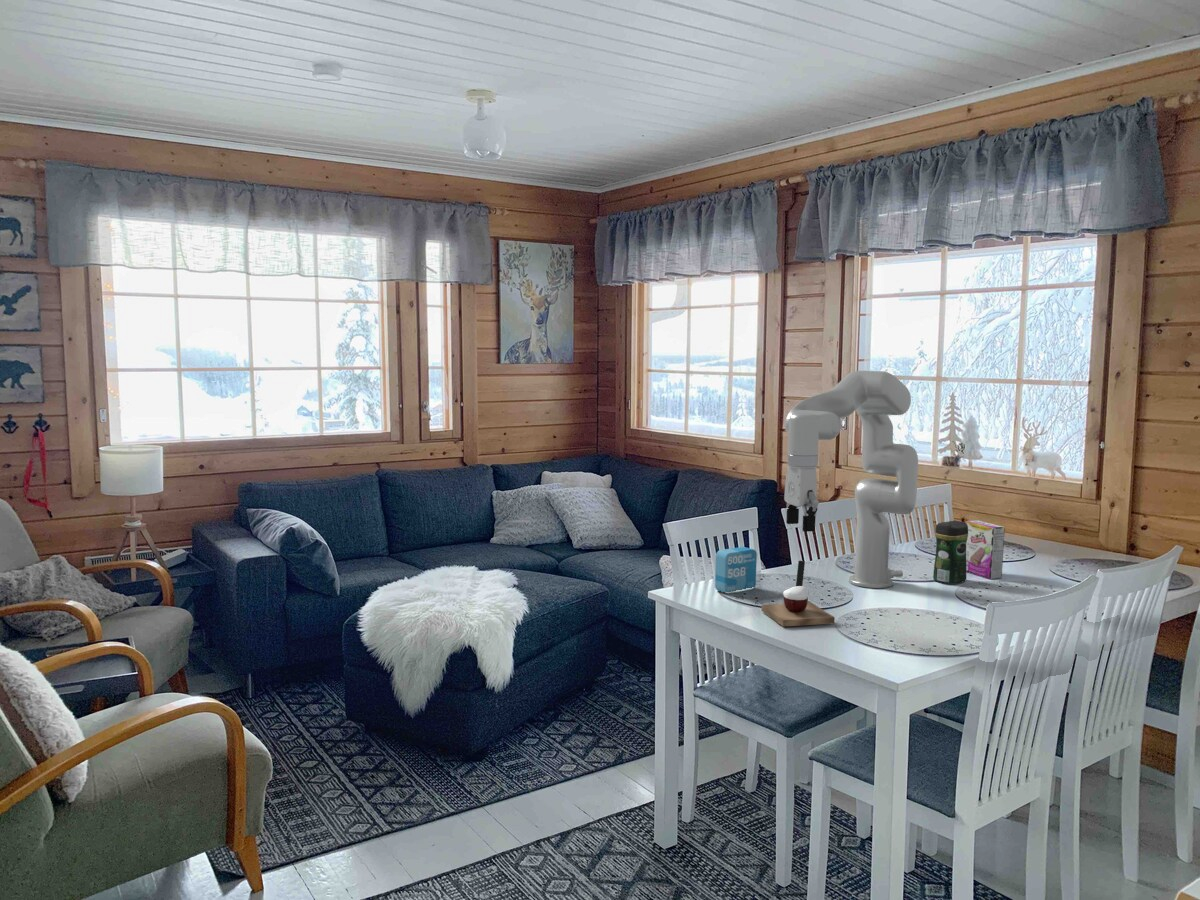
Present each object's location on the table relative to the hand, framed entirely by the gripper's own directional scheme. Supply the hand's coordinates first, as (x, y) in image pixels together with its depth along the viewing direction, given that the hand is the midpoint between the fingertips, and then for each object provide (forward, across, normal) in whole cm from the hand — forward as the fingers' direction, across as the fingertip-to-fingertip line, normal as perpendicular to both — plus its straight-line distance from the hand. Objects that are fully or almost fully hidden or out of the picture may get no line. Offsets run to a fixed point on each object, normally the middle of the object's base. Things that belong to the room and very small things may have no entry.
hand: (800, 527), depth 232 cm
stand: (+24, 0, 0) cm, 24 cm away
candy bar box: (+25, -32, +77) cm, 87 cm away
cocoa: (+22, -1, 0) cm, 22 cm away
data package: (+24, -29, -6) cm, 38 cm away
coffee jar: (+25, -27, +62) cm, 72 cm away
